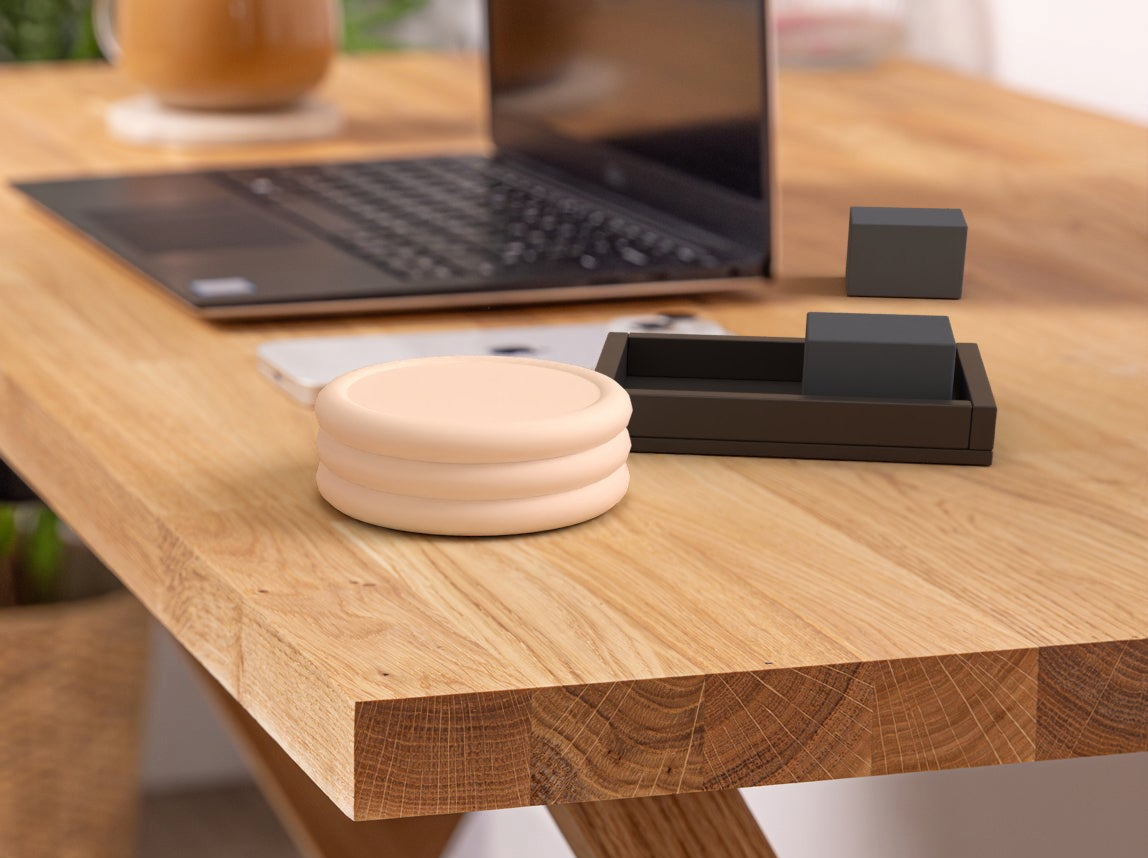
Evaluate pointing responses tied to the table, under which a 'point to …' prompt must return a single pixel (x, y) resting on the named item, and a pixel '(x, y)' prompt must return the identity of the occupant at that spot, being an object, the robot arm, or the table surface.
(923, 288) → the dark grey block
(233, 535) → the table surface
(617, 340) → the tray
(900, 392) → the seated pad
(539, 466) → the coaster
